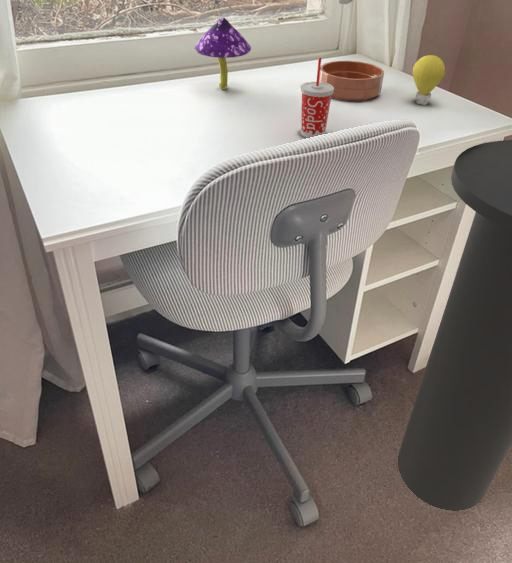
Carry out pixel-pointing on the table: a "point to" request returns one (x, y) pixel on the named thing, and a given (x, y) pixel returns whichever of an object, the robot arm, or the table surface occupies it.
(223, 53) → the decorative mushroom
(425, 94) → the light bulb
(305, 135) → the beverage cup
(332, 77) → the bowl
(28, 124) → the table surface
